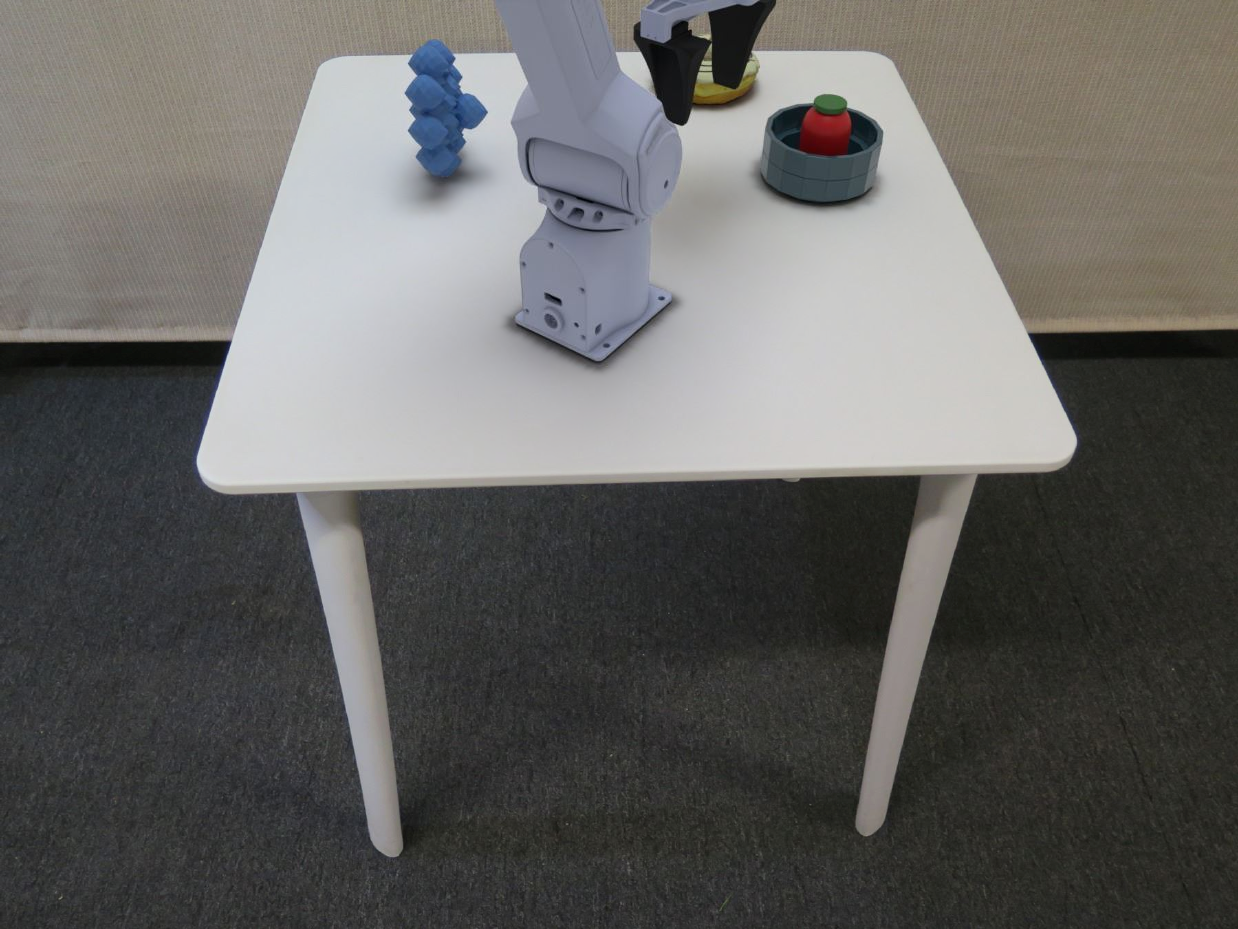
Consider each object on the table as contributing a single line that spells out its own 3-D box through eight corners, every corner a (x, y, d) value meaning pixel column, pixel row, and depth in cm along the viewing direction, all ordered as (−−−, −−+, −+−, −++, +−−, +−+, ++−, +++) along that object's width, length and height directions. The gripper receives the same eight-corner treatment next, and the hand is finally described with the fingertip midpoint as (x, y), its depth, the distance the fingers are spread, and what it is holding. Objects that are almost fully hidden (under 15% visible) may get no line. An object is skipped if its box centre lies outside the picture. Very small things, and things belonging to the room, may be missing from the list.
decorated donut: (767, 72, 103) (772, 35, 100) (741, 117, 96) (745, 79, 93) (672, 56, 106) (674, 20, 103) (640, 99, 98) (641, 61, 96)
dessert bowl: (841, 219, 83) (850, 170, 80) (739, 182, 88) (744, 135, 84) (891, 171, 89) (902, 124, 86) (794, 138, 93) (800, 92, 90)
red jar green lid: (829, 189, 86) (841, 117, 81) (786, 174, 88) (796, 103, 83) (850, 169, 88) (864, 98, 84) (809, 155, 90) (820, 85, 85)
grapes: (485, 210, 84) (471, 72, 75) (405, 208, 84) (383, 69, 75) (501, 143, 92) (490, 11, 83) (429, 141, 92) (411, 9, 84)
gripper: (707, -45, 62) (693, 154, 72) (815, -103, 71) (790, 83, 80) (616, -68, 65) (615, 126, 75) (731, -121, 73) (716, 60, 83)
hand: (700, 102), depth 78 cm, fingers open, 7 cm apart
